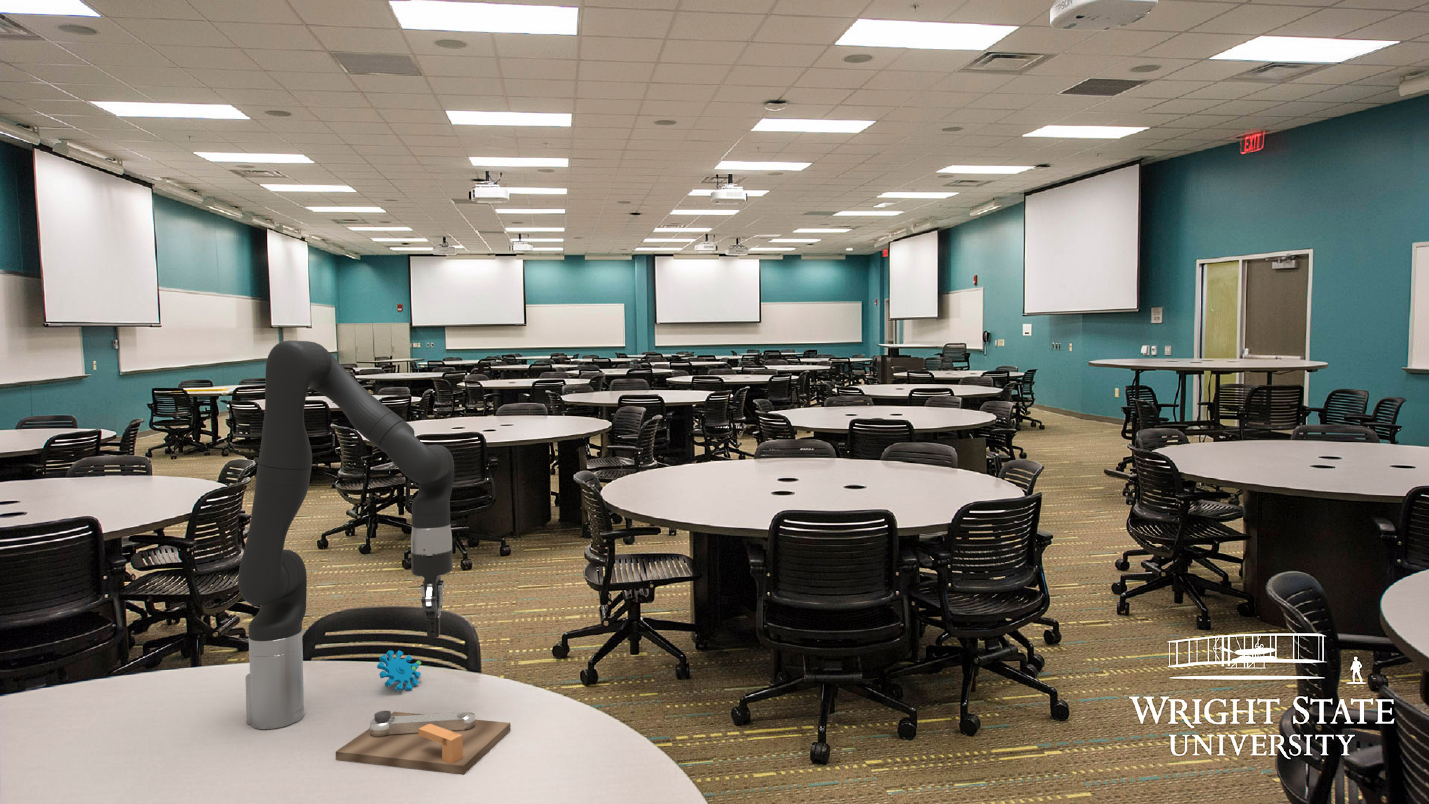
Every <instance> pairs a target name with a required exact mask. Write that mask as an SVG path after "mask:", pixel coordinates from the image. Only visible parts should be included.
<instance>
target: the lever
mask: <svg viewBox="0 0 1429 804" xmlns="http://www.w3.org/2000/svg"><path fill="white" fill-rule="evenodd" d="M475 717H476V716H475V713H474V712H473V711H464V712H463V711H462V712H461V711H459V712H446V713H445V712H444V713H442V712H441V713H429V714H426V713H425V714H424V715H408V716H391V719H390V720H388V721H385V722H375V718H372V719H371V720H370V722H369V728H370V734H371V735H372V736H386V735H389V734H404V733H418V729H419V728H421V727H423V726H425V725H428V724H433V725H435V726H438V727H441V728H444V729H447V730H449V731H452V730H466V729H470V728H473V727H474V726H475Z"/></svg>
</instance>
